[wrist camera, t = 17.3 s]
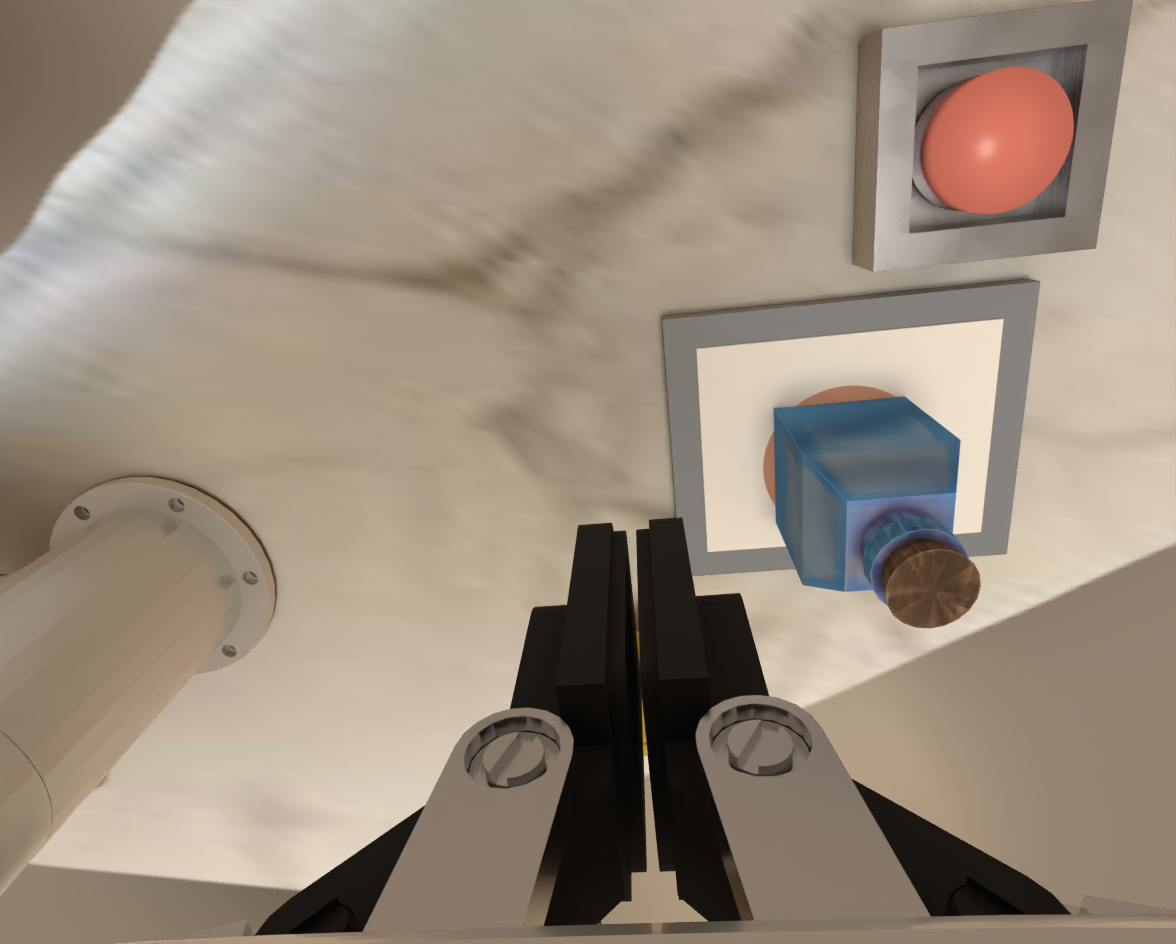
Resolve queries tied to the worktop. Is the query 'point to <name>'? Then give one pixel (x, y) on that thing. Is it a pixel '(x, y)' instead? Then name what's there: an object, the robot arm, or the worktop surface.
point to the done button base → (954, 53)
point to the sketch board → (841, 374)
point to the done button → (992, 141)
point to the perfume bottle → (874, 505)
